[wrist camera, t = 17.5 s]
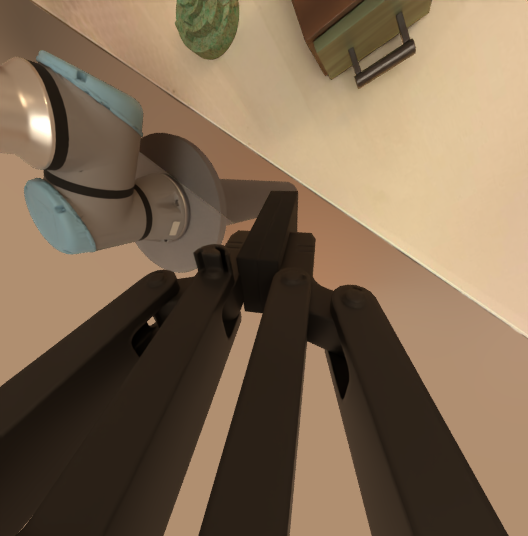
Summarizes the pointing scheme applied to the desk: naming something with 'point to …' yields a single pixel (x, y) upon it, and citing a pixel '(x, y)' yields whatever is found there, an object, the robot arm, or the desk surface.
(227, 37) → the decorative artifact
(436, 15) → the desk surface
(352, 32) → the drawer
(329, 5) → the cabinet
